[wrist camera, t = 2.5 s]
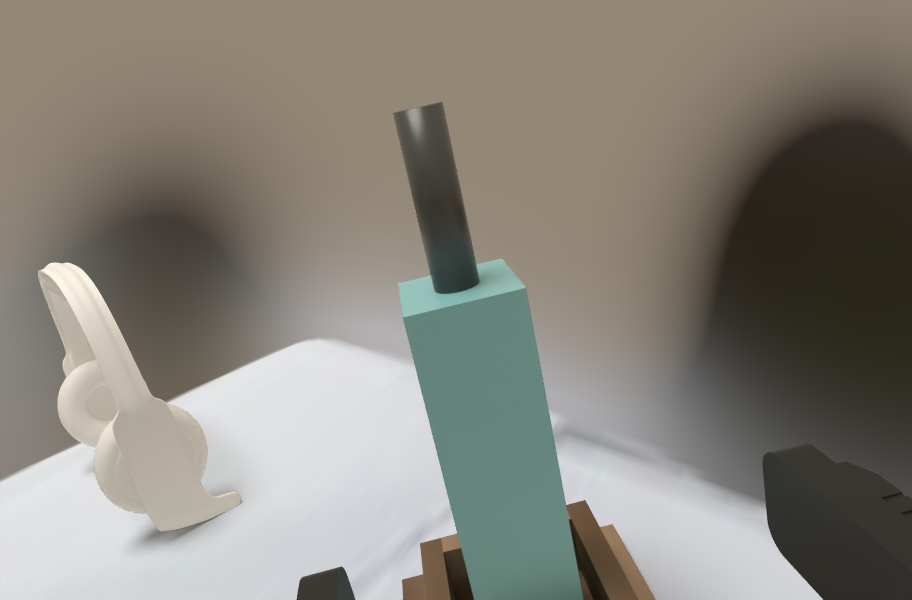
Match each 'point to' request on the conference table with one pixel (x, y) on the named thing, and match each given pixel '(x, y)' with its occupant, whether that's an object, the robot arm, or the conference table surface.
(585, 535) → the brown open square box
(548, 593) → the plug
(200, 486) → the headset
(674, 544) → the conference table surface
